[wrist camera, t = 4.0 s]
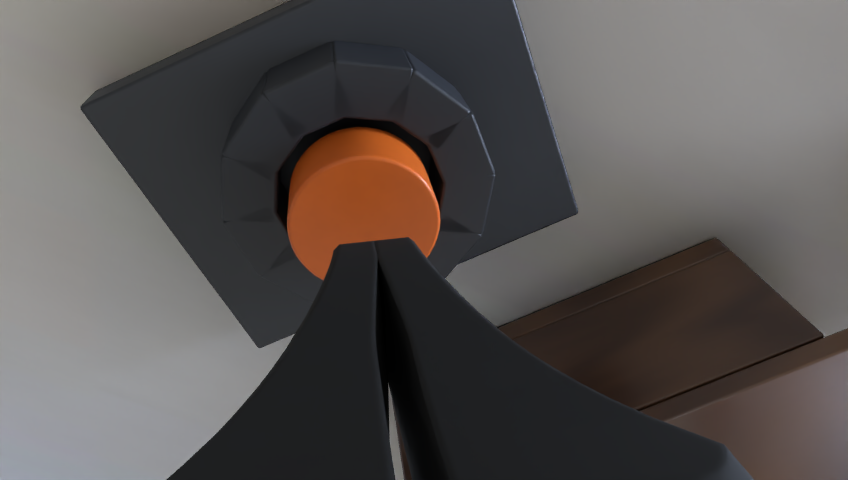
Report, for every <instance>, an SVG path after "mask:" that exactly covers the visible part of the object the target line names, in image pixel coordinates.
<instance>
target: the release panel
mask: <svg viewBox="0 0 848 480" xmlns="http://www.w3.org/2000/svg"><path fill="white" fill-rule="evenodd" d="M81 110H82V112H83V113H84V114H85V116H86V117H87V118H88V120H89V121H90V122H91V124H92V125H93V127H94V128H95V129H96V131H97V132H98V133H99V135H100V136H101V137H102V139H103V140H104V141H105V143H106V144H107V145H108V147H109V148H110V149H111V151H112V152H113V153H114V155H115V156H116V157H117V159H118V160H119V161H120V163H121V164H122V165H123V167H124V168H125V169H126V171H127V172H128V174H129V175H130V176H131V178H132V179H133V180H134V182H135V183H136V184H137V186H138V187H139V188H140V190H141V191H142V192H143V194H144V195H145V196H146V198H147V199H148V200H149V202H150V203H151V204H152V206H153V207H154V208H155V210H156V211H157V212H158V214H159V215H160V216H161V218H162V219H163V221H164V222H165V223H166V225H167V226H168V227H169V229H170V230H171V231H172V233H173V234H174V235H175V237H176V238H177V239H178V241H179V242H180V243H181V245H182V246H183V247H184V249H185V250H186V251H187V253H188V254H189V255H190V257H191V258H192V259H193V261H194V262H195V263H196V265H197V266H198V268H199V269H200V270H201V272H202V273H203V274H204V276H205V277H206V278H207V280H208V281H209V282H210V284H211V285H212V286H213V288H214V289H215V290H216V292H217V293H218V294H219V296H220V297H221V298H222V300H223V301H224V302H225V304H226V305H227V306H228V308H229V309H230V310H231V312H232V313H233V315H234V316H235V317H236V319H237V320H238V321H239V323H240V324H241V325H242V327H243V328H244V329H245V331H246V332H247V333H248V335H249V336H250V337H251V339H252V340H253V341H254V343H255V344H256V345H257V347H258V348H262V347H264V346H266V345H269V344H271V343H273V342H276V341H278V340H280V339H283V338H285V337H288V336H290V335H292V334H295V333H296V332H297V330H298V328H299V327H300V325H301V323H302V322H303V320H304V319H305V317H306V315H307V313H308V311H309V309H310V307H311V305H312V303H313V301H314V299H315V297H316V295H317V293H318V291H319V289H320V287H321V285H322V283H323V280H322V279H320V278H318V277H317V276H315V275H314V274H313V273H311V272H310V271H309V270H308V269H307V268H306V267H305V266H304V265H303V264H302V263H301V262H300V260H299V259H298V258H297V256H296V255H295V253H294V251H293V249H292V247H291V244H290V241H289V237H288V232H287V215H288V202H289V189H290V180H291V177H292V173H293V170H294V168H295V166H296V163H297V162H298V160H299V159H300V157H301V156H302V154H303V153H304V152H305V151H306V150H307V149H308V148H309V147H310V146H311V145H312V144H313V143H314V142H316V141H317V140H319V139H320V138H322V137H324V136H326V135H327V134H329V133H332V132H335V131H337V130H341V129H345V128H352V127H369V128H376V129H380V130H383V131H386V132H389V133H391V134H394V135H395V136H397V137H399V138H401V139H402V140H403V141H405V142H406V143H407V144H409V145H410V146H411V148H412V149H413V150H414V151H415V152H416V153H417V155H418V156H419V157H420V159H421V161H422V163H423V165H424V167H425V170H426V172H427V175H428V178H429V180H430V183H431V186H432V188H433V191H434V194H435V196H436V199H437V202H438V205H439V210H440V229H439V234H438V238H437V240H436V243H435V245H434V247H433V249H432V251H431V253H430V254H429V256H428V257H427V259H428V260H429V261H430V262H431V264H432V265H433V266H434V267H435V268H436V269H437V271H438V272H439V273H440V274H441V275H442V276H443V277H444V278H446V277H447V275H448V274H449V273H450V272H451V271H452V270H453V269H454V268H455V266H456V265H457V264H460V263H462V262H465V261H467V260H469V259H472V258H474V257H476V256H479V255H481V254H483V253H486V252H488V251H491V250H493V249H495V248H498V247H500V246H502V245H505V244H507V243H509V242H512V241H514V240H517V239H519V238H521V237H524V236H526V235H528V234H531V233H533V232H535V231H538V230H540V229H542V228H545V227H547V226H550V225H552V224H554V223H557V222H559V221H561V220H564V219H566V218H568V217H571V216H573V215H576V214H577V213H578V208H577V205H576V201H575V198H574V195H573V191H572V188H571V185H570V181H569V178H568V175H567V171H566V168H565V165H564V162H563V158H562V155H561V152H560V148H559V145H558V142H557V138H556V135H555V132H554V128H553V125H552V122H551V119H550V115H549V112H548V109H547V105H546V102H545V99H544V95H543V92H542V89H541V86H540V82H539V79H538V76H537V72H536V69H535V66H534V62H533V59H532V56H531V52H530V49H529V46H528V43H527V39H526V36H525V33H524V29H523V26H522V23H521V19H520V16H519V13H518V10H517V6H516V3H515V0H291V1H289V2H287V3H284V4H282V5H280V6H278V7H276V8H274V9H271V10H269V11H267V12H265V13H263V14H261V15H259V16H256V17H254V18H252V19H250V20H248V21H246V22H243V23H241V24H239V25H237V26H235V27H233V28H231V29H228V30H226V31H224V32H222V33H220V34H218V35H215V36H213V37H211V38H209V39H207V40H205V41H203V42H200V43H198V44H196V45H194V46H192V47H190V48H187V49H185V50H183V51H181V52H179V53H177V54H175V55H172V56H170V57H168V58H166V59H164V60H162V61H160V62H157V63H155V64H153V65H151V66H149V67H147V68H144V69H142V70H140V71H138V72H136V73H134V74H132V75H129V76H127V77H125V78H123V79H121V80H119V81H116V82H114V83H112V84H110V85H108V86H106V87H104V88H101V89H99V90H97V91H95V92H94V93H93V94H92V95H91V96H90V97H89V98H88V99H87V100H86V101H85V102H84V103H83V104H82V106H81Z"/></svg>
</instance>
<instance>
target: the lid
mask: <svg viewBox="0 0 848 480" xmlns="http://www.w3.org/2000/svg"><path fill="white" fill-rule="evenodd" d="M639 412H642V413H644V414H646V415H648V416H651V417H653V418H656V419H658V420H661V421H664V422H666V423H669V424H672V425H674V426H677V427H679V428H682V429H685V430H687V431H690V432H693V433H695V434H698V435H701V436H703V437H706V438H709V439H711V440H714V441H716V442H719V443H722V444H724V445H725V446H726V447H727V448H728V449H729V451H730V452H731V453H732V454H733V455H734V457H735V458H736V459H737V460H738V461H739V462H740V464H741V465H742V466H743V467H744V468H745V469H746V471H747V472H748V473H749V474H750V475H751V476H752V478H753V479H754V480H848V328H847V329H844V330H842V331H839V332H837V333H834V334H832V335H829V336H827V337H824V338H822V339H819V340H817V341H814V342H812V343H809V344H807V345H804V346H802V347H799V348H797V349H794V350H792V351H789V352H787V353H784V354H781V355H779V356H776V357H774V358H771V359H769V360H766V361H764V362H761V363H759V364H756V365H754V366H751V367H749V368H746V369H744V370H741V371H739V372H736V373H734V374H731V375H729V376H726V377H724V378H721V379H719V380H716V381H714V382H711V383H709V384H706V385H703V386H701V387H698V388H696V389H693V390H691V391H688V392H686V393H683V394H681V395H678V396H676V397H673V398H671V399H668V400H666V401H663V402H661V403H658V404H656V405H653V406H651V407H648V408H646V409H643V410H641V411H639Z"/></svg>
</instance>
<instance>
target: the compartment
mask: <svg viewBox="0 0 848 480" xmlns="http://www.w3.org/2000/svg"><path fill="white" fill-rule="evenodd" d="M498 329H499V330H500V331H501V332H503V333H504V334H505V335H506V336H508V337H509V338H510V339H512V340H513V341H514V342H516V343H517V344H519V345H520V346H522V347H523V348H524V349H526V350H527V351H529V352H530V353H531V354H533V355H534V356H536V357H538V358H539V359H541V360H542V361H544V362H545V363H547V364H549V365H550V366H552V367H554V368H556V369H557V370H559V371H561V372H562V373H564V374H566V375H568V376H569V377H571V378H573V379H575V380H576V381H578V382H580V383H582V384H583V385H585V386H587V387H589V388H591V389H593V390H595V391H597V392H599V393H601V394H603V395H605V396H607V397H609V398H611V399H613V400H616V401H618V402H620V403H622V404H624V405H626V406H629V407H631V408H633V409H635V410H637V411H641V410H643V409H646V408H648V407H651V406H653V405H656V404H658V403H661V402H663V401H666V400H668V399H671V398H673V397H676V396H678V395H681V394H683V393H686V392H688V391H691V390H693V389H696V388H698V387H701V386H703V385H706V384H709V383H711V382H714V381H716V380H719V379H721V378H724V377H726V376H729V375H731V374H734V373H736V372H739V371H741V370H744V369H746V368H749V367H751V366H754V365H756V364H759V363H761V362H764V361H766V360H769V359H771V358H774V357H776V356H779V355H781V354H784V353H787V352H789V351H792V350H794V349H797V348H799V347H802V346H804V345H807V344H809V343H812V342H814V341H817V340H819V339H822V338H823V334H822V333H821V332H820V331H819V330H818V329H817V328H815V327H814V326H813V325H812V324H811V323H810V322H809V321H808V320H807V319H806V318H804V317H803V316H802V315H801V314H800V313H799V312H798V311H797V310H796V309H795V308H793V307H792V306H791V305H790V304H789V303H788V302H787V301H786V300H785V299H784V298H782V297H781V296H780V295H779V294H778V293H777V292H776V291H775V290H774V289H772V288H771V287H770V286H769V285H768V284H767V283H766V282H765V281H764V280H763V279H761V278H760V277H759V276H758V275H757V274H756V273H755V272H754V271H753V270H752V269H750V268H749V267H748V266H747V265H746V264H745V263H744V262H743V261H742V260H741V259H739V258H738V257H737V256H736V255H735V254H734V253H733V252H732V251H730V250H729V249H728V248H727V247H726V246H725V245H724V244H723V243H722V242H721V241H720V240H718V239H717V238H714V239H711V240H709V241H706V242H704V243H702V244H699V245H697V246H694V247H692V248H690V249H687V250H685V251H682V252H680V253H677V254H675V255H673V256H670V257H668V258H665V259H663V260H661V261H658V262H656V263H653V264H651V265H648V266H646V267H644V268H641V269H639V270H636V271H634V272H632V273H629V274H627V275H624V276H622V277H620V278H617V279H615V280H612V281H610V282H607V283H605V284H603V285H600V286H598V287H595V288H593V289H591V290H588V291H586V292H583V293H581V294H578V295H576V296H574V297H571V298H569V299H566V300H564V301H562V302H559V303H557V304H554V305H552V306H549V307H547V308H545V309H542V310H540V311H537V312H535V313H533V314H530V315H528V316H525V317H523V318H520V319H518V320H516V321H513V322H511V323H508V324H506V325H504V326H501V327H499V328H498ZM392 401H393V399H392ZM393 408H394V403H393ZM394 415H395V421H396V428H397V435H398V441H399V448H400V455H401V461H402V468H403V475H404V480H412V477H411V473H410V469H409V465H408V461H407V457H406V452H405V448H404V444H403V440H402V436H401V432H400V428H399V424H398V420H397V416H396V412H395V408H394Z"/></svg>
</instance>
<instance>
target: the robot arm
mask: <svg viewBox="0 0 848 480" xmlns="http://www.w3.org/2000/svg"><path fill="white" fill-rule="evenodd" d="M388 383H389V387H390V391H391V395H392V399H393V403H394V408H395V412H396V416H397V420H398V424H399V428H400V432H401V436H402V440H403V444H404V448H405V452H406V457H407V461H408V465H409V469H410V473H411V477H412V480H754V479H753V478H752V476H751V475H750V474H749V473H748V472H747V471H746V469H745V468H744V467H743V466H742V465H741V464H740V462H739V461H738V460H737V459H736V458H735V457H734V455H733V454H732V453H731V452H730V451H729V449H728V448H727V447H726V446H725V445H724V444H722V443H719V442H716V441H714V440H711V439H709V438H706V437H703V436H701V435H698V434H695V433H693V432H690V431H687V430H685V429H682V428H679V427H677V426H674V425H672V424H669V423H666V422H664V421H661V420H658V419H656V418H653V417H651V416H648V415H646V414H644V413H642V412H639V411H637V410H635V409H633V408H631V407H629V406H626V405H624V404H622V403H620V402H618V401H616V400H613V399H611V398H609V397H607V396H605V395H603V394H601V393H599V392H597V391H595V390H593V389H591V388H589V387H587V386H585V385H583V384H582V383H580V382H578V381H576V380H575V379H573V378H571V377H569V376H568V375H566V374H564V373H562V372H561V371H559V370H557V369H556V368H554V367H552V366H550V365H549V364H547V363H545V362H544V361H542V360H541V359H539V358H538V357H536V356H534V355H533V354H531V353H530V352H529V351H527V350H526V349H524V348H523V347H522V346H520V345H519V344H517V343H516V342H514V341H513V340H512V339H510V338H509V337H508V336H506V335H505V334H504V333H503V332H501V331H500V330H499V329H498V328H496V327H495V326H494V325H493V324H492V323H491V322H489V321H488V320H487V319H486V318H485V317H484V316H483V315H481V314H480V313H479V312H478V311H477V310H476V309H475V308H474V307H473V306H471V305H470V304H469V303H468V302H467V301H466V300H465V299H464V298H463V297H462V296H461V295H460V294H459V293H458V292H457V291H456V290H455V289H454V288H453V287H452V286H451V285H450V284H449V283H448V282H447V281H446V279H445V278H444V277H443V276H442V275H441V274H440V273H439V272H438V271H437V269H436V268H435V267H434V266H433V265H432V264H431V262H430V261H429V260H428V259H427V258H426V256H425V255H424V254H423V253H422V251H421V250H420V249H419V247H418V246H417V245H416V243H415V242H414V241H413V240H412V239H410V238H409V237H405V238H395V239H385V240H376V241H366V242H356V243H347V244H339V245H338V246H337V247H336V248H335V249H334V250H333V255H332V259H331V262H330V265H329V268H328V271H327V273H326V276H325V278H324V280H323V283H322V285H321V287H320V289H319V291H318V293H317V295H316V297H315V299H314V301H313V303H312V305H311V307H310V309H309V311H308V313H307V315H306V317H305V319H304V320H303V322H302V323H301V325H300V327H299V328H298V330H297V332H296V333H295V335H294V337H293V338H292V340H291V342H290V343H289V345H288V346H287V348H286V349H285V351H284V352H283V354H282V355H281V357H280V358H279V360H278V361H277V362H276V364H275V365H274V367H273V368H272V369H271V371H270V372H269V373H268V375H267V376H266V377H265V378H264V380H263V381H262V382H261V384H260V385H259V386H258V387H257V389H256V390H255V391H254V392H253V393H252V395H251V396H250V397H249V398H248V399H247V400H246V402H245V403H244V404H243V405H242V406H241V407H240V408H239V410H238V411H237V412H236V413H235V414H234V415H233V417H232V418H231V419H230V420H229V421H228V422H227V423H226V424H225V425H224V426H223V427H222V428H221V429H220V430H219V431H218V432H217V433H216V434H215V435H214V436H213V437H212V438H211V439H210V440H209V441H208V442H207V443H206V444H205V445H204V446H203V447H202V448H201V449H200V450H199V451H198V452H196V453H195V454H194V455H193V456H192V457H191V458H190V459H189V460H188V461H187V462H186V463H185V464H184V465H183V466H182V467H180V468H179V469H178V470H177V471H176V472H175V473H174V474H172V475H171V476H170V477H169V478H168V479H167V480H395V475H394V468H393V462H392V455H391V448H390V442H389V398H388Z"/></svg>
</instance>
